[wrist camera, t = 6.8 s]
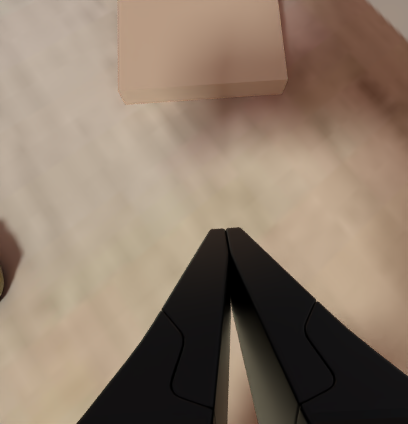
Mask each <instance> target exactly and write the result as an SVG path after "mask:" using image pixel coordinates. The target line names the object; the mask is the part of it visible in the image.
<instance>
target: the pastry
mask: <svg viewBox="0 0 408 424" xmlns="http://www.w3.org/2000/svg"><path fill="white" fill-rule="evenodd" d="M3 287H4V278H3V272H2V268H1V266H0V296H1V294H2V291H3Z"/></svg>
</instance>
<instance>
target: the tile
mask: <svg viewBox="0 0 408 424" xmlns="http://www.w3.org/2000/svg"><path fill="white" fill-rule="evenodd" d="M287 81H288V75H287V68H286V60H285V52H284V44H283V36H282V28H281V21H280V13H279V5H278V0H118V92H119V94H120V96H121V98H122V100H123V102H124V103H125V105H129V104H144V103H159V102H173V101H188V100H203V99H218V98H232V97H247V96H262V95H276V94H282V93H283V91H284V88H285V86H286V83H287Z"/></svg>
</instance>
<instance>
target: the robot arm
mask: <svg viewBox="0 0 408 424" xmlns="http://www.w3.org/2000/svg"><path fill="white" fill-rule="evenodd" d="M231 307H232V312H233V317H234V321H235V325H236V330H237V334H238V338H239V342H240V347H241V351H242V355H243V360H244V364H245V368H246V373H247V377H248V381H249V385H250V390H251V394H252V398H253V403H254V407H255V411H256V416H257V420H258V424H408V376H407V375H406V374H404V373H403V372H402V371H400V370H399V369H398V368H397V367H395V366H394V365H393V364H391V363H390V362H389V361H388V360H386V359H385V358H384V357H383V356H381V355H380V354H379V353H377V352H376V351H375V350H374V349H372V348H371V347H370V346H369V345H367V344H366V343H365V342H364V341H362V340H361V339H360V338H359V337H358V336H356V335H355V334H354V333H353V332H351V331H350V330H349V329H348V328H347V327H346V326H344V325H343V324H342V323H341V322H340V321H339V320H338V319H337V318H336V317H334V316H333V315H332V314H331V313H330V312H329V311H328V310H327V309H326V308H325V307H324V306H323V305H322V304H320V303H319V302H318V301H317V302H316V299H315V298H314V297H313V296H312V295H311V294H310V293H309V292H308V291H307V290H306V289H304V288H303V287H302V286H301V285H300V284H299V283H298V282H297V281H296V280H295V279H294V278H293V277H292V276H291V275H290V274H289V273H288V272H287V271H286V270H285V269H283V268H282V267H281V266H280V265H279V264H278V263H277V262H276V261H275V260H274V259H273V258H272V257H271V256H270V255H269V254H268V253H267V252H266V251H265V250H263V249H262V248H261V247H260V246H259V245H258V244H257V243H256V242H255V241H254V240H253V239H252V238H251V237H250V236H249V235H248V234H247V233H246V232H245V231H243V230H242V229H241V228H239V227H237V228H227V229H226V231H225V229H211V230H210V231H209V232H208V234H207V236H206V237H205V239H204V240H203V242H202V244H201V245H200V247H199V249H198V250H197V252H196V254H195V255H194V257H193V258H192V260H191V262H190V263H189V265H188V267H187V268H186V270H185V272H184V273H183V275H182V276H181V278H180V280H179V281H178V283H177V285H176V286H175V288H174V290H173V291H172V293H171V295H170V296H169V298H168V299H167V301H166V303H165V304H164V306H163V308H162V311H160V312H159V314H158V316H157V317H156V319H155V321H154V322H153V324H152V325H151V327H150V328H149V330H148V331H147V333H146V334H145V336H144V337H143V339H142V340H141V342H140V343H139V345H138V346H137V347H136V349H135V350H134V351H133V353H132V354H131V355H130V357H129V358H128V359H127V361H126V362H125V363H124V364H123V366H122V367H121V368H120V370H119V371H118V372H117V373H116V375H115V376H114V377H113V378H112V380H111V381H110V382H109V383H108V385H107V386H106V387H105V389H104V390H103V391H102V392H101V394H100V395H99V396H98V397H97V399H96V400H95V401H94V402H93V404H92V405H91V406H90V408H89V409H88V410H87V411H86V413H85V414H84V415H83V416H82V418H81V419H80V420H79V421H78V422H77V424H227V417H228V386H229V356H230V325H231Z"/></svg>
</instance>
